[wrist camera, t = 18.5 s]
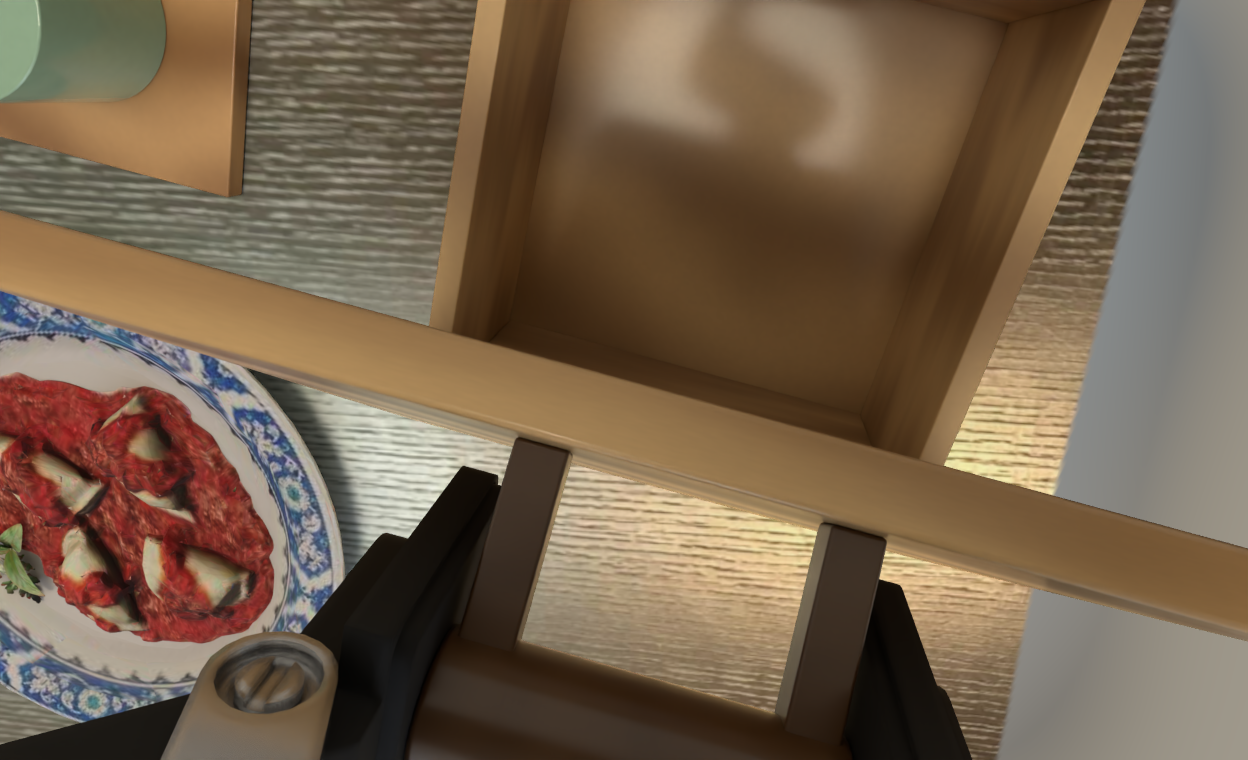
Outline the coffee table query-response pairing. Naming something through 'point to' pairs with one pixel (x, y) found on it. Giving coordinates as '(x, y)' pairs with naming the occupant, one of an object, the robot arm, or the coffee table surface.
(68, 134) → the trivet
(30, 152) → the coffee table surface
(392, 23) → the coffee table surface
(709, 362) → the chest
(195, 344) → the lid
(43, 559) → the ceramic plate
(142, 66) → the sage green cylinder
